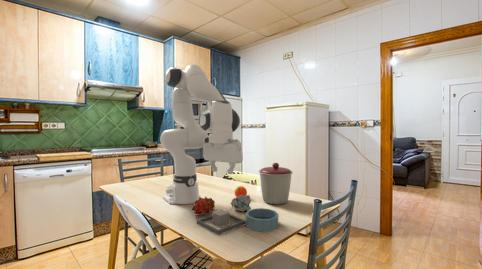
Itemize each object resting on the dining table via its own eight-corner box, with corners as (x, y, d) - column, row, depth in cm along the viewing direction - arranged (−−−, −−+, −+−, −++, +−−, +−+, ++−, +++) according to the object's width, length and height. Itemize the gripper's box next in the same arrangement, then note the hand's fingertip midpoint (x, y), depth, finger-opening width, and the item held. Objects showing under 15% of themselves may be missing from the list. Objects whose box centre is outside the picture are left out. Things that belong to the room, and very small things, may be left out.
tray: (196, 223, 101) (196, 219, 100) (223, 214, 110) (223, 211, 110) (218, 235, 90) (218, 230, 90) (245, 224, 100) (245, 220, 100)
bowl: (239, 224, 100) (239, 213, 100) (260, 216, 109) (260, 206, 109) (263, 234, 91) (263, 222, 91) (284, 224, 100) (284, 214, 100)
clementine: (239, 201, 130) (239, 188, 130) (230, 198, 135) (230, 186, 135) (249, 198, 136) (249, 185, 136) (240, 195, 141) (240, 183, 141)
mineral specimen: (238, 221, 116) (249, 210, 123) (246, 214, 111) (257, 202, 118) (224, 206, 118) (236, 195, 125) (232, 198, 113) (244, 187, 120)
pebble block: (212, 224, 100) (212, 212, 100) (221, 220, 104) (221, 209, 104) (220, 227, 97) (220, 215, 97) (229, 224, 100) (229, 212, 100)
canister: (275, 195, 143) (275, 159, 142) (299, 203, 128) (300, 163, 128) (251, 200, 132) (251, 162, 131) (275, 209, 118) (275, 166, 117)
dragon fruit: (217, 215, 115) (193, 224, 108) (209, 201, 120) (186, 209, 113) (220, 204, 110) (196, 213, 103) (212, 190, 115) (188, 198, 108)
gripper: (245, 139, 95) (246, 174, 95) (211, 138, 109) (212, 169, 109) (234, 139, 90) (235, 176, 90) (200, 139, 104) (200, 171, 104)
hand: (222, 172), depth 100 cm, fingers open, 8 cm apart
